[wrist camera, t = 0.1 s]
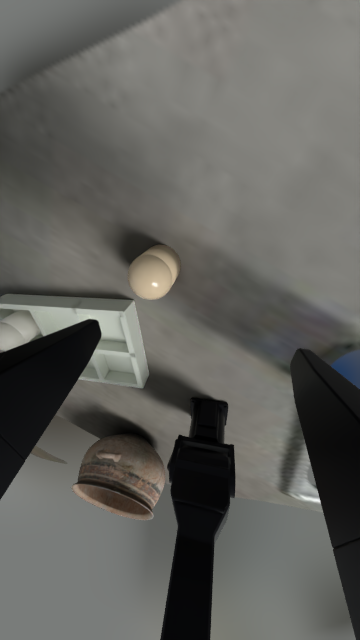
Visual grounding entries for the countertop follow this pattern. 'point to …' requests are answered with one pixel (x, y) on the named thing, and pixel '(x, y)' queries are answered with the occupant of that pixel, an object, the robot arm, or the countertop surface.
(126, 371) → the egg carton
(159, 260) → the brown egg
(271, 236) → the countertop surface
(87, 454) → the cooking pot
